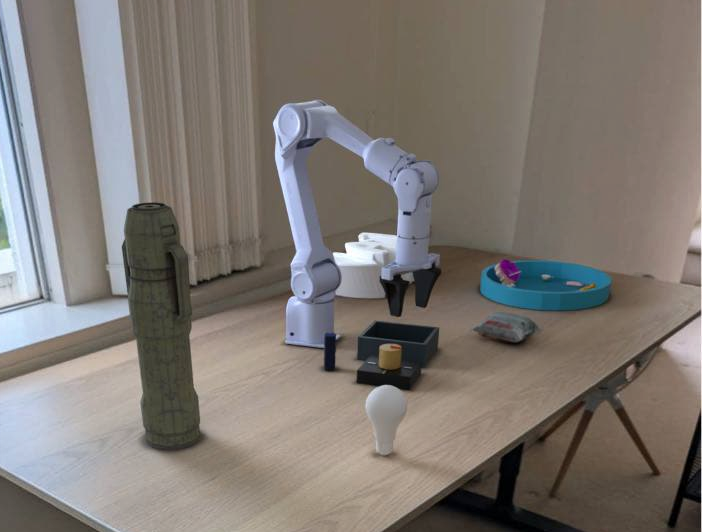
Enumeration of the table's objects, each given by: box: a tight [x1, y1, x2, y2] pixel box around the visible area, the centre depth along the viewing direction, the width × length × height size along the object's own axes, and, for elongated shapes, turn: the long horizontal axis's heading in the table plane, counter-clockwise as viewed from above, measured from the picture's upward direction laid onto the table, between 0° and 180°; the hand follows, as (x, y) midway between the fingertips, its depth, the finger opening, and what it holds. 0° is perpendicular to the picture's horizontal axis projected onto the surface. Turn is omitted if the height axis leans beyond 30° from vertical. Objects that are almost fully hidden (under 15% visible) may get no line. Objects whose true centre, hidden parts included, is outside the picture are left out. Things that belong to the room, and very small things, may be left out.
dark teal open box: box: [356, 320, 440, 369], centre depth 158 cm, size 13×11×5 cm
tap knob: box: [379, 344, 402, 370], centre depth 146 cm, size 4×4×4 cm
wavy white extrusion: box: [332, 232, 414, 299], centre depth 200 cm, size 35×16×11 cm, turn 145°
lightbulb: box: [365, 385, 408, 456], centre depth 119 cm, size 6×6×11 cm
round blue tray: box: [479, 258, 613, 311], centre depth 193 cm, size 30×30×6 cm
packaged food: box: [469, 311, 542, 343], centre depth 165 cm, size 9×12×5 cm
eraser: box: [323, 332, 337, 372], centre depth 151 cm, size 2×2×7 cm
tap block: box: [356, 356, 422, 391], centre depth 148 cm, size 10×8×3 cm
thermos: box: [121, 201, 201, 451], centre depth 119 cm, size 9×12×35 cm
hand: (408, 311), depth 151 cm, fingers open, 7 cm apart
